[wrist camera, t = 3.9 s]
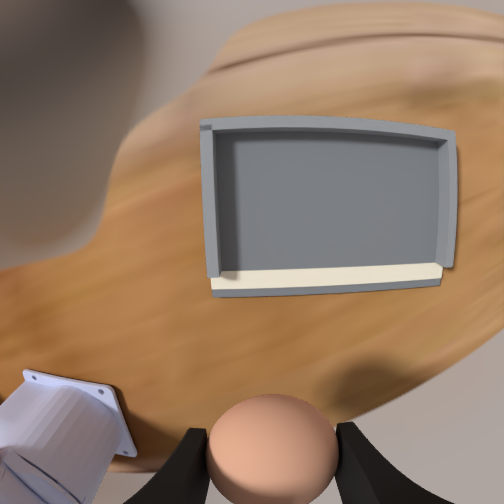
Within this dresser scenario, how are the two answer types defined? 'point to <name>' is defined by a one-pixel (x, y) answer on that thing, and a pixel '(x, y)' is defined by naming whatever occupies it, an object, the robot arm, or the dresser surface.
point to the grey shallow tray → (326, 204)
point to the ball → (272, 451)
